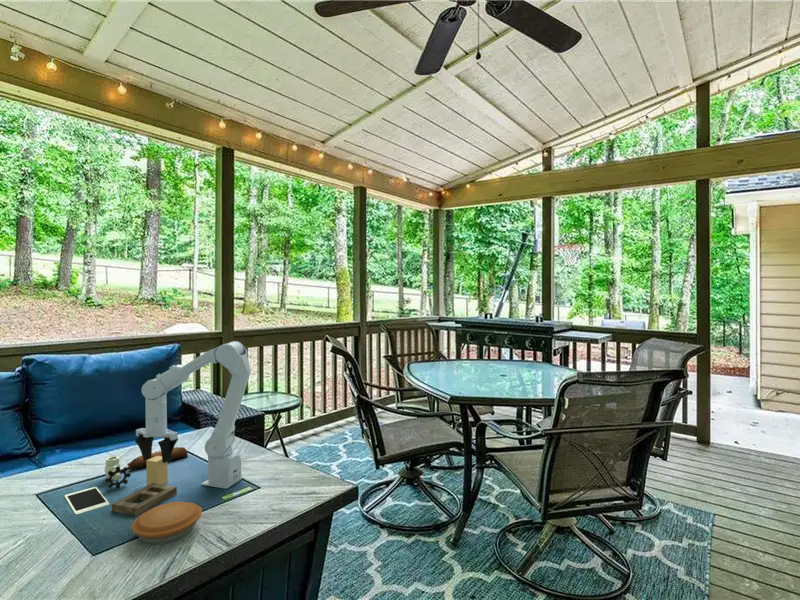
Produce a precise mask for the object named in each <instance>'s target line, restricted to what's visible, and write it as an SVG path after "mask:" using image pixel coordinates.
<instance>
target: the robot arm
mask: <svg viewBox="0 0 800 600" xmlns="http://www.w3.org/2000/svg"><path fill="white" fill-rule="evenodd" d="M218 363H219V364H220V365H221V366H223V367H224V368H225V369H227V370H228V372H229V373H230V374H231V378H230V382H229V385H228V388H227V392H226V393H225V394H226V395H225V398H224V401H223V405H222V407H221V411H220V414H219V417H218V420H217V422H216V425H215V427H214V429H213V431H212V433H211V435H210V437H209V438H208V439H207V440H206V442H205V445H204V451H205V453H206V454H207V480H205V481H204V482H202V483H201V485H202V486H206V487H207V486H208V487H213V488H219V489H225V490H226V489H229V488H230V487H232V486H234V485H235V484H236V483H238V482H239V481H241V480H242V479H244V476H242V458H241V456H240V455H237V454H235V453H234V452H233V447H232V445H233V444H234V442H235V438H236V437H235V430H236V425H235V423H236V420H237V417H238V413H239V410H240V407H241V404H242V400H243V398H244V394H245V391H246V388H247V385H248V382H249V380H250V376H251V371H252V370H251V366H250V362H249V357H248V350H247V348H246V347H245V346H244V344H242V343H241V342H239V341H237V340H233V341H230V342H227V343H224V344H221V345H219V346H218V347H215V348H212V349H209V350H207V351H206V352H204V353H203V354H201V355H199V356H197V357H195V358H194V359H193V360H191V361H189V362H188V363H186V364H185V365H182V364H173V365H171V366H169V367H168V369H167V370H166V371H164V372H162V373H158V374H156V376H155V378H153V379H149V380H146V382H145V383H144V384H143V385H142V386H141V394H142V396H143V397H144V398H145V427H141V428H137V429H135V436H136V437H137V438H135V439H134V442H135V444H136V445H137V446H138V448H139V450H140V453H141V455H142V456H143V459H144V460H147V459H149V458H151V455H152V453H153V451H152V450H153V443H154V439H155V438H156V439H162V440H160V441H158V446H159V448H160V451H161V452H162V461H163V463H166V462H167V463H168V462H170V461H171V460H170V458H171V454H172V451H173V448H175V447H176V446H175V445H176V444H177V442H178V441H179V438H178V432H177V431H174V430H171V429H168V416H167V415H168V414H167V411H168V409H167V407H168V406H167V404H168V403H167V398H168V397H167V394H168V392H170V391H172V390H173V389H175V388H176V387H178V386H180V385H182V384H184V383H185V382H187V381H189V379H190V375H191V374H193V373H194V372H196V371H197V370H200V369H201V368H204V367H205V366H206V365H209V364H218Z"/></svg>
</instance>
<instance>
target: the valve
mask: <svg viewBox="0 0 800 600" xmlns="http://www.w3.org/2000/svg"><path fill="white" fill-rule="evenodd" d="M127 467H128V466H124V467H123V468H122V469H121V464H120V456H117V455H113V456H109V457H107V458H105V466H104V473H105V478H104V482H105V483H109V484H108V485H107V487H108V488H109V489H112V488H113V487H114V486H115V489H120V488H121V484H123V485H127V484H128V483H129V482H128V479H127V478H129V477H130V476H131V473H130V472H127V471H128V468H127ZM122 474H123V478H122ZM121 479H122V480H121ZM119 480H120V481H119ZM114 481H115V482H114Z"/></svg>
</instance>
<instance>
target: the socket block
mask: <svg viewBox="0 0 800 600" xmlns="http://www.w3.org/2000/svg"><path fill="white" fill-rule="evenodd" d="M177 491H178V490H177V486H173V485H166V484H163V485H162V484H155V483H152V484H150V485H148V486H147V485H146V486H144V487H143V488H141V489H138V490H136V491H134V492H132V493H130V494H129V495H127V496H125V497H122V498H120V499H118V500H116V501H115V502H112V503H111V512H115V513H119V514H124V515H125V514H126V515H129V516H135V517H139V516H140V515H142V514H143V513H145V512H146V511H148V510H150V509H152V508H154V507H157V506H158V505H160V504H161V503H163V502H164V501H167V500H168V499H170V498H171V496H172V497H173V496H175V495H177V494H178V492H177ZM139 501H141V502H139ZM138 502H139V503H138Z"/></svg>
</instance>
